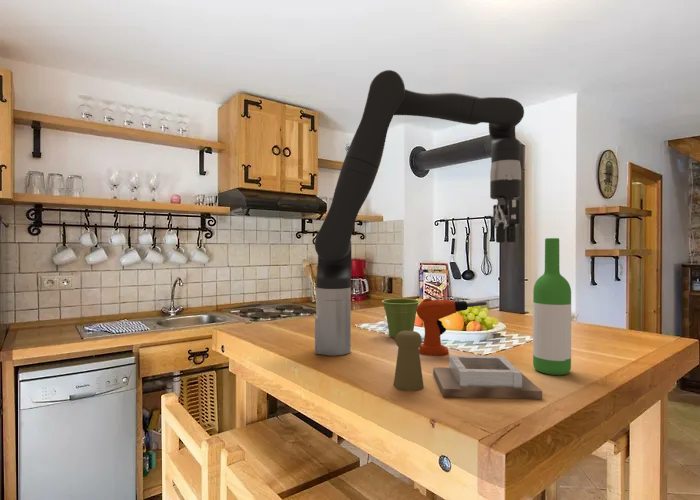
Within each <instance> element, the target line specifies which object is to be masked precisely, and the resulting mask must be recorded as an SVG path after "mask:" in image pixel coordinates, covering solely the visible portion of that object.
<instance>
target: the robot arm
mask: <svg viewBox="0 0 700 500" xmlns="http://www.w3.org/2000/svg"><path fill="white" fill-rule="evenodd" d="M404 82H405V81H404V80H403V77H402V76H401V75H400V74H399V73H398V72H396V71H395V70H392V69H387V70H382V71H380V72H379V73H377V74H376V75H375V76H374V77H373V78H372V80H371V82H370V84H369V89H368V93H367V98H366V101H365V105H364V110H363V114H362V116H361V120H360V122H359V125H358V126H357V128H356V132H355V133H354V135H353V137H352V141H351V142H350V145H349V147H348V150H347V152H346V154H345V158H344V160H343V163H342V165H341V168H340V172H339V175H338V178H337V182H336V185H335V188H334V192H333V196H332V201H331V204H330V207H329V209H328V212H327V213H326V216H325V217H324V220H323V222H322V225H321V226H320V228H319V231H318V233H317V235H316V236H315V240H314V250H315V252H316V255H317V273H316V279H315V282H316V284H315V287H316V289H315V291H316V294H315V297H316V298H315V302H316V303H315V307H316V308H315V310H316V312H315V314H316V315H315V317H314V354H316V355H323V356H342V355H347V354H349V353H351V351H352V350H351V349H352V347H351V345H352V342H351V339H352V337H351V336H352V335H351V334H352V328H351V326H352V322H351V321H352V319H351V318H352V316H351V315H352V305H351V302H352V301H351V299H352V297H351V295H352V294H351V293H352V289H351V286H352V285H351V284H352V283H351V282H352V240H351V238H352V236H353V230H354V227H355V223H356V219H357V218H358V214H359V213H360V210H361V209H362V206H363V205H364V203H365V201H366V200H367V198H368V196H369V194H370V191H371V189H372V187H373V185H374V182H375V180H376V177H377V174H378V171H379V169H380V165H381V162H382V158H383V154H384V150H385V145H386V144H385V143H386V139H387V133H388V130H389V128H390V125H391V122H392V120H393V117H394V116H411V117H413V116H414V117H424V118H432V119H438V120H439V119H440V120H444V121H450V122H454V123H455V122H456V123H461V124H467V125H474V126H475V125H478V124H482V123H483V124H484V123H485V124H488V133H489V140H490V144H491V157H490V159H491V164H490V170H489V172H490V174H489V177H490V178H489V180H490V182H489V183H490V184H489V187H490V190H489V191H490V192H489V193H490V194H489V195H490V196H489V197H490V199H491V200H497V203H496V204H493V206H492V207H493V209H492V211H493V213H492V215H493V217H492V226H493V227H494V229H495V243H505V242H506V243H515V242H516V237H517V236H516V231H517V229H516V227H517V226H518V225H519V224H520V222H521V221H520V200H519V199H520V198H521V197H522V166H521V144H520V140H518V139H517V137H516V126H517V125H519V124H520V123H521V122H522V120H523V118H524V116H525V109H524V106H523V105H522V103H521V102H520V101H518V100H517V99H514V98H509V97H503V96H501V97H500V96H499V97H497V96H494V97H493V96H487V97H485V96H484V97H480V96H476V95H472V94H471V95H469V94H465V93H458V92H435V93H434V92H432V93H431V92H429V93H428V92H427V93H426V92H425V93H424V92H417V91H413V90H409V89H406V87H405V83H404Z"/></svg>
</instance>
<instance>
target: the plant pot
mask: <svg viewBox="0 0 700 500" xmlns="http://www.w3.org/2000/svg"><path fill="white" fill-rule="evenodd" d="M381 303H382V304H383V308H384V310H385V316H386V317H385V318H386V323H387V329H388V333H389V337H390V338H393V339H396V335H397V334H398V333H399V332H401V331H414V329H415V323H416V315H417V312H416V309H417V306H418V305H419V304H420V303H421V300H419V299H413V298H387V299H383V300H381Z"/></svg>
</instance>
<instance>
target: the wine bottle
mask: <svg viewBox="0 0 700 500" xmlns="http://www.w3.org/2000/svg"><path fill="white" fill-rule="evenodd" d="M571 287H572V286H571V285H570V282H569V281H568V280H567V279H566V278H565V277H564V276H563V275H562V274H561V273H560V238H559V237H549V238H546V237H545V239H544V273H543V274H542V275H540V277H538V278H537V280H536V281H535V282H534V286H533V291H532V292H533V298H532V299H533V302H532V307H533V309H532V364H533V367H534V368H533V369H534V370H535V371H537V372H539V373H542V374H545V375H551V376H566V375H568V374H569V373H570V371H571V369H572V288H571Z"/></svg>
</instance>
